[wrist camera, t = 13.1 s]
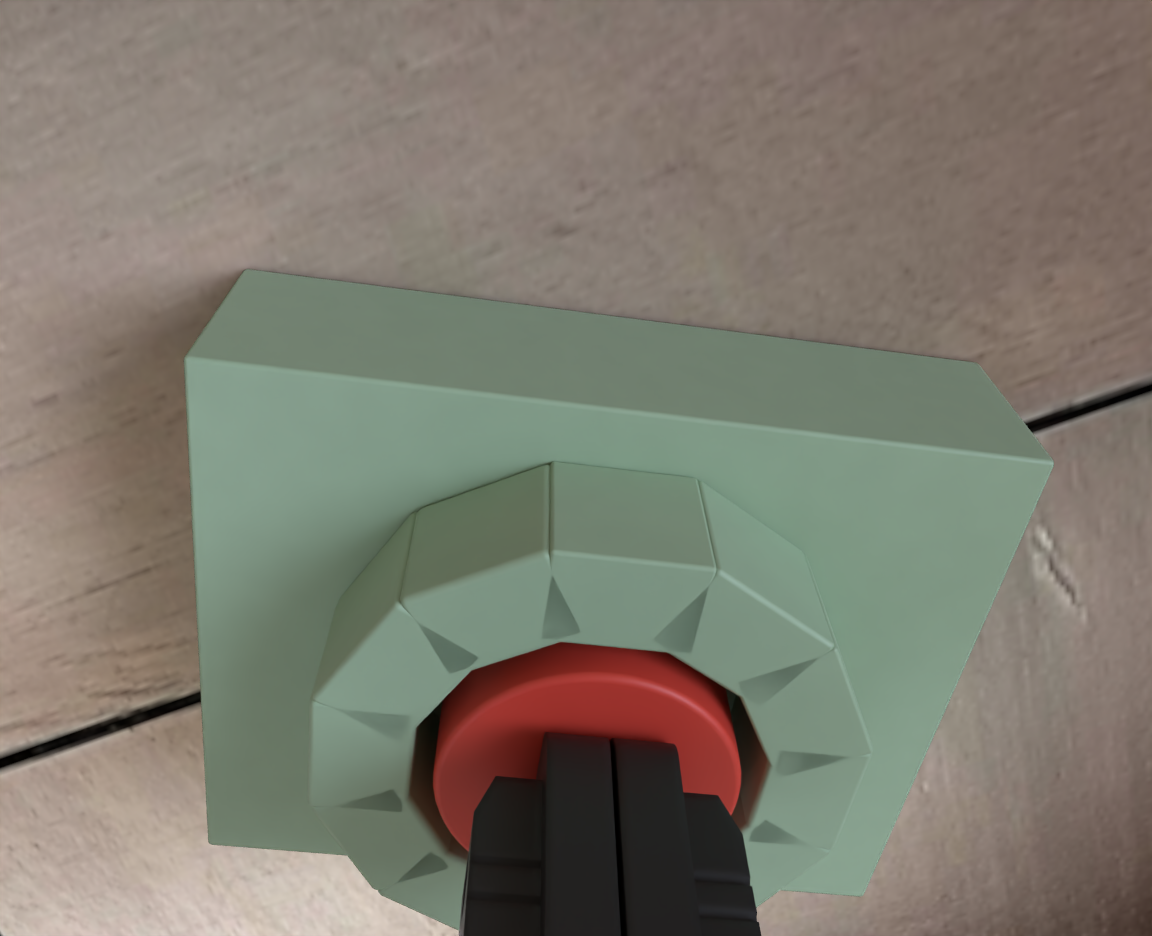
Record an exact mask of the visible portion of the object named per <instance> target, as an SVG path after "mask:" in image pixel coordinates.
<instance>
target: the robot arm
mask: <svg viewBox="0 0 1152 936" xmlns="http://www.w3.org/2000/svg"><path fill="white" fill-rule="evenodd" d="M750 878H751V877H750V872H749V866H748V861H747V855H746V850H745V844H744V839H743V834H742V832H741V831H740V829H739V828H738V826H737V825H736V823H735V821H734V820H733V818H732V817H731V815H730V813H729V812H728V810H727V809H726V807H725V806H724V804H723V802H722V801H721V799H720V798H719V796H718V795H710V794H699V793H688V792H683V786H682V778H681V770H680V762H679V755H678V751H677V747H676V745H675V744H673V743H662V742H651V741H641V740H630V739H619V738H611V740H610V742H609V739H608V738H605V737H594V736H583V735H573V734H562V733H551V732H545V733H544V737H543V742H542V747H541V753H540V759H539V764H538V770H537V776H536V779H526V778H515V777H503V776H495V778H494V780H493V781H492V783H491V784H490V786H489V788H488V789H487V791H486V793H485V794H484V796H483V798H482V799H481V801H480V803H479V804H478V806H477V807H476V809H475V811H474V815H473V822H472V829H471V837H470V844H469V851H468V858H467V866H466V873H465V880H464V887H463V895H462V904H461V915H460V927H459V936H761V932H760V927H759V922H757V919H756V916H757V910H756V905H755V899H754V894H753V888H752V886H750Z"/></svg>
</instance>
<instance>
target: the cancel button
mask: <svg viewBox="0 0 1152 936" xmlns="http://www.w3.org/2000/svg"><path fill="white" fill-rule="evenodd" d="M545 732H551V733H562V734H573V735H583V736H594V737H605V738H608V739H609V742H610V740H611V738H619V739H630V740H641V741H651V742H662V743H673V744H675V745H676V747H677V751H678V755H679V762H680V770H681V778H682V786H683V792H688V793H699V794H710V795H718V796H719V798H720V799H721V801H722V802H723V804H724V806H725V807H726V809H727V810H728V812H729V813H730V815H732V813H733V810H734V808H735V806H736V803H737V800H738V796H739V792H740V787H741V765H740V759H739V753H738V748H737V743H736V738H735V733H734V728H733V723H732V718H731V713H730V708H729V702H728V697H727V692H726V688H724V687H723V686H721V685H720V684H718V683H716V682H715V681H713V680H711V679H710V678H708V677H707V676H705V675H703V674H702V673H700V672H698V671H697V670H695V669H693V668H692V667H690V666H689V665H687V664H685V663H684V662H682V661H680V660H679V659H677V658H675V657H674V656H672V655H671V654H669V653H666V652H656V651H646V650H636V649H626V648H616V647H606V646H596V645H586V644H576V643H566V642H559V643H556V644H553V645H550V646H547V647H543V648H540V649H537V650H534V651H531V652H528V653H525V654H521V655H518V656H515V657H512V658H509V659H506V660H503V661H499V662H496V663H493V664H490V665H487V666H484V667H481V668H477V669H474V670H471V671H470V672H469V674H468V675H467V676H466V677H465V678H464V679H463V680H462V681H461V682H460V683H459V684H458V685H457V686H456V687H455V688H454V689H453V690H452V691H451V692H450V693H449V694H448V695H447V696H446V697H445V698H444V699H443V700H442V708H441V715H440V723H439V731H438V739H437V747H436V755H435V763H434V771H433V790H434V796H435V801H436V804H437V807H438V809H439V812H440V815H441V817H442V819H443V821H444V823H445V824H446V826H447V828H448V830H449V831H450V832H451V834H452V835H453V836H454V837H455V839H456V840H457V841H458V842H459V843H460V844H461V845H462V846H463V847H464V848H465V849H466V850H467V851H469V844H470V837H471V829H472V822H473V815H474V811H475V809H476V807H477V806H478V804H479V803H480V801H481V799H482V798H483V796H484V794H485V793H486V791H487V789H488V788H489V786H490V784H491V783H492V781H493V780H494V778H495V776H503V777H515V778H526V779H536V776H537V770H538V764H539V759H540V753H541V747H542V742H543V737H544V733H545Z"/></svg>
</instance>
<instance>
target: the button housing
mask: <svg viewBox="0 0 1152 936" xmlns="http://www.w3.org/2000/svg"><path fill="white" fill-rule="evenodd" d="M184 375H185V395H186V415H187V434H188V454H189V473H190V493H191V512H192V532H193V552H194V571H195V591H196V610H197V630H198V649H199V669H200V688H201V708H202V728H203V747H204V767H205V786H206V806H207V825H208V841H209V844H212V845H224V846H236V847H248V848H261V849H273V850H286V851H298V852H311V853H323V854H336V855H347V856H348V857H349V858H350V859H351V861H352V862H353V863H354V865H355V866H356V867H357V868H358V870H359V871H360V872H361V874H362V875H363V876H364V877H365V879H366V880H367V881H368V883H369V884H370V885H371V886H372V888H374V889H376V890H378V892H379V893H380V894H381V895H382V896H384V897H386V898H389V899H391V900H393V901H395V902H397V903H400V904H402V905H404V906H406V907H408V908H411V909H413V910H415V911H417V912H419V913H421V914H424V915H426V916H428V917H430V918H432V919H435V920H437V921H439V922H441V923H443V924H446V925H448V926H450V927H452V928H454V929H457V930H459V927H460V915H461V904H462V895H463V887H464V880H465V873H466V866H467V858H468V851H467V850H466V849H465V848H464V847H463V846H462V845H461V844H460V843H459V842H458V841H457V840H456V839H455V837H454V836H453V835H452V834H451V832H450V831H449V830H448V828H447V826H446V824H445V823H444V821H443V819H442V817H441V815H440V812H439V809H438V807H437V804H436V801H435V796H434V790H433V771H434V763H435V755H436V747H437V739H438V731H439V723H440V715H441V708H442V700H443V699H444V698H445V697H446V696H447V695H448V694H449V693H450V692H451V691H452V690H453V689H454V688H455V687H456V686H457V685H458V684H459V683H460V682H461V681H462V680H463V679H464V678H465V677H466V676H467V675H468V674H469V672H470V671H471V670H474V669H477V668H481V667H484V666H487V665H490V664H493V663H496V662H499V661H503V660H506V659H509V658H512V657H515V656H518V655H521V654H525V653H528V652H531V651H534V650H537V649H540V648H543V647H547V646H550V645H553V644H556V643H559V642H566V643H576V644H586V645H596V646H606V647H616V648H626V649H636V650H646V651H656V652H666V653H669V654H671V655H672V656H674V657H675V658H677V659H679V660H680V661H682V662H684V663H685V664H687V665H689V666H690V667H692V668H693V669H695V670H697V671H698V672H700V673H702V674H703V675H705V676H707V677H708V678H710V679H711V680H713V681H715V682H716V683H718V684H720V685H721V686H723V687H724V688H726V692H727V697H728V702H729V708H730V713H731V718H732V723H733V728H734V733H735V738H736V743H737V748H738V753H739V759H740V765H741V787H740V792H739V796H738V800H737V803H736V806H735V808H734V810H733V813H732V815H731V817H732V818H733V820H734V821H735V823H736V825H737V826H738V828H739V829H740V831H741V832H742V834H743V839H744V844H745V850H746V855H747V861H748V866H749V872H750V877H751V878H750V886H752V888H753V894H754V899H755V905H756V908H757V907H758V906H759V905H761V904H762V903H763V902H765V901H766V900H767V899H769V898H770V897H771V896H773V895H774V894H775V893H777V892H778V891H779V890H784V891H797V892H809V893H822V894H834V895H847V896H859V897H860V896H863V895H864V892H865V890H866V888H867V886H868V883H869V881H870V879H871V877H872V874H873V872H874V870H875V868H876V865H877V863H878V861H879V859H880V856H881V854H882V852H883V849H884V847H885V845H886V843H887V840H888V838H889V836H890V834H891V831H892V829H893V827H894V825H895V822H896V820H897V818H898V816H899V813H900V811H901V809H902V807H903V804H904V802H905V800H906V798H907V795H908V793H909V791H910V789H911V786H912V784H913V782H914V780H915V777H916V775H917V773H918V771H919V768H920V766H921V764H922V761H923V759H924V757H925V755H926V752H927V750H928V748H929V746H930V743H931V741H932V739H933V737H934V734H935V732H936V730H937V728H938V725H939V723H940V721H941V719H942V716H943V714H944V712H945V710H946V707H947V705H948V703H949V701H950V698H951V696H952V694H953V692H954V689H955V687H956V685H957V683H958V680H959V678H960V676H961V673H962V671H963V669H964V667H965V664H966V662H967V660H968V658H969V655H970V653H971V651H972V649H973V646H974V644H975V642H976V640H977V637H978V635H979V633H980V631H981V628H982V626H983V624H984V622H985V619H986V617H987V615H988V613H989V610H990V608H991V606H992V604H993V601H994V599H995V597H996V595H997V592H998V590H999V588H1000V586H1001V583H1002V581H1003V579H1004V576H1005V574H1006V572H1007V570H1008V567H1009V565H1010V563H1011V561H1012V558H1013V556H1014V554H1015V552H1016V549H1017V547H1018V545H1019V543H1020V540H1021V538H1022V536H1023V534H1024V531H1025V529H1026V527H1027V525H1028V522H1029V520H1030V518H1031V516H1032V513H1033V511H1034V509H1035V507H1036V504H1037V502H1038V500H1039V498H1040V495H1041V493H1042V491H1043V488H1044V486H1045V484H1046V482H1047V479H1048V477H1049V475H1050V473H1051V470H1052V468H1053V466H1054V461H1053V459H1052V458H1051V457H1050V456H1049V454H1048V453H1047V452H1046V450H1045V449H1044V448H1043V447H1042V445H1041V444H1040V443H1039V441H1038V440H1037V439H1036V438H1035V436H1034V435H1033V434H1032V432H1031V431H1030V430H1029V429H1028V427H1027V426H1026V425H1025V423H1024V422H1023V421H1022V420H1021V418H1020V417H1019V416H1018V414H1017V413H1016V412H1015V410H1014V409H1013V408H1012V407H1011V405H1010V404H1009V403H1008V401H1007V400H1006V399H1005V398H1004V396H1003V395H1002V394H1001V392H1000V391H999V390H998V389H997V387H996V386H995V385H994V383H993V382H992V381H991V380H990V378H989V377H988V376H987V374H986V373H985V372H984V371H983V369H982V368H981V367H980V365H979V364H977V363H974V362H967V361H959V360H951V359H943V358H935V357H928V356H920V355H912V354H904V353H896V352H889V351H881V350H873V349H865V348H858V347H850V346H842V345H834V344H826V343H819V342H811V341H803V340H795V339H787V338H780V337H772V336H764V335H756V334H748V333H741V332H733V331H725V330H717V329H710V328H702V327H694V326H686V325H678V324H671V323H663V322H655V321H647V320H639V319H632V318H624V317H616V316H608V315H600V314H593V313H585V312H577V311H569V310H561V309H554V308H546V307H538V306H530V305H523V304H515V303H507V302H499V301H491V300H484V299H476V298H468V297H460V296H452V295H445V294H437V293H429V292H421V291H413V290H406V289H398V288H390V287H382V286H375V285H367V284H359V283H351V282H343V281H336V280H328V279H320V278H312V277H304V276H297V275H289V274H281V273H273V272H265V271H258V270H250V269H246V270H244V271H243V272H242V274H241V275H240V277H239V278H238V280H237V281H236V283H235V284H234V285H233V287H232V288H231V290H230V291H229V293H228V294H227V296H226V297H225V299H224V300H223V302H222V303H221V304H220V306H219V307H218V309H217V310H216V312H215V313H214V315H213V316H212V318H211V319H210V321H209V322H208V323H207V325H206V326H205V328H204V329H203V331H202V332H201V334H200V335H199V337H198V338H197V340H196V341H195V342H194V344H193V345H192V347H191V348H190V350H189V351H188V353H187V354H186V356H185V358H184Z"/></svg>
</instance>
